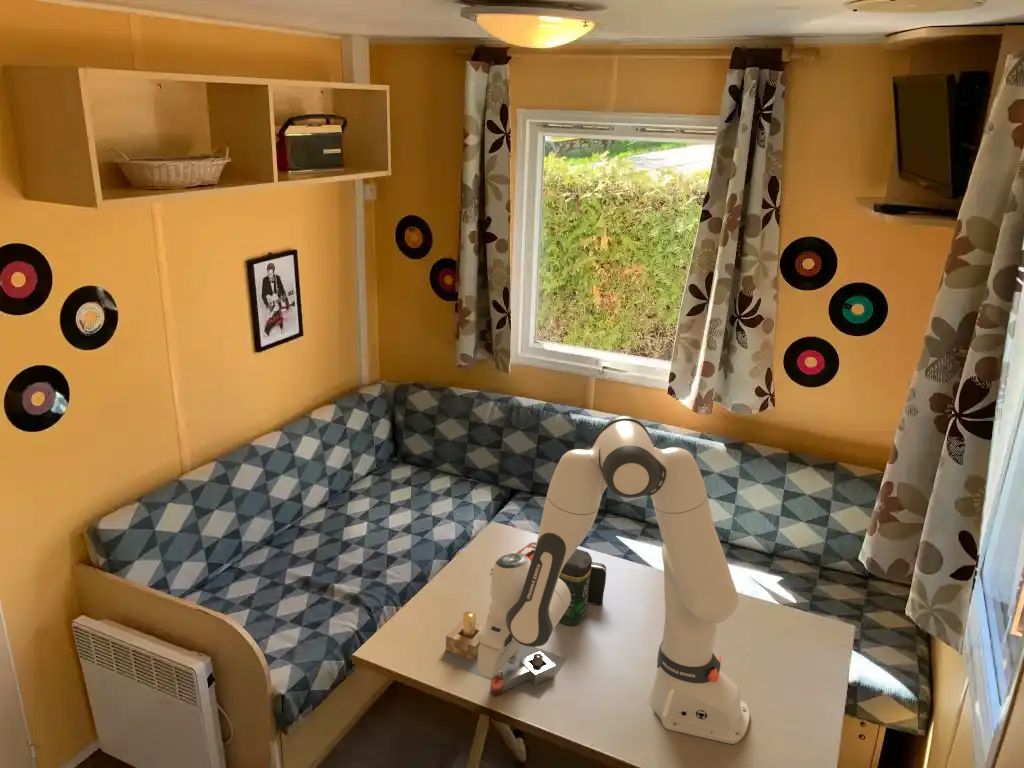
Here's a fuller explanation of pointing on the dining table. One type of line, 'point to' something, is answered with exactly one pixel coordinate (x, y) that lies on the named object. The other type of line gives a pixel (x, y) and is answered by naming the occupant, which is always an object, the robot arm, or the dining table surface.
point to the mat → (511, 668)
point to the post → (537, 660)
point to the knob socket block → (523, 675)
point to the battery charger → (597, 583)
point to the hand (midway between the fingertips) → (504, 670)
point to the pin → (469, 624)
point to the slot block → (463, 642)
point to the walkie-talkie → (526, 551)
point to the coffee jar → (576, 586)
